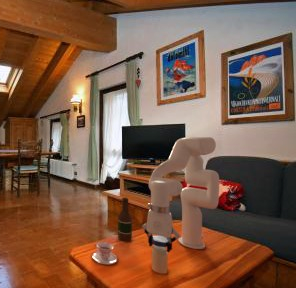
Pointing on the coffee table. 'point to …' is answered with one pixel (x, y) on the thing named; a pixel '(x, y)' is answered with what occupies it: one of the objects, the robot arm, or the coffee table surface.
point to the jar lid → (159, 241)
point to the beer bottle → (125, 222)
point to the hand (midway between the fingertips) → (159, 247)
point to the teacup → (104, 253)
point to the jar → (159, 259)
